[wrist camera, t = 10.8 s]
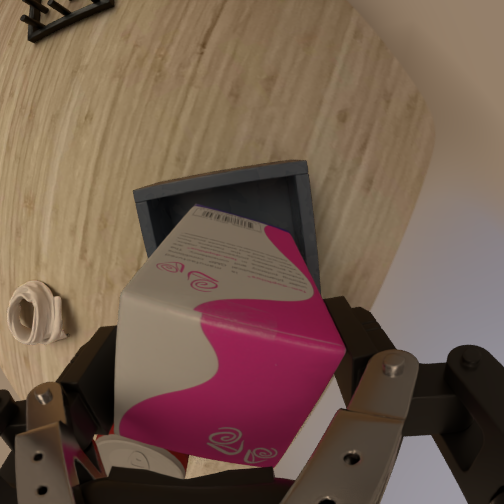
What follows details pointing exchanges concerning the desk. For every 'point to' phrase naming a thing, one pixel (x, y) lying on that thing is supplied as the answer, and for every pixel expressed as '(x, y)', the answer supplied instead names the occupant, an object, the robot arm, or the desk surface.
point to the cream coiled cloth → (36, 315)
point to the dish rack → (38, 30)
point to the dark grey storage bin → (236, 203)
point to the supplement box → (222, 342)
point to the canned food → (139, 455)
